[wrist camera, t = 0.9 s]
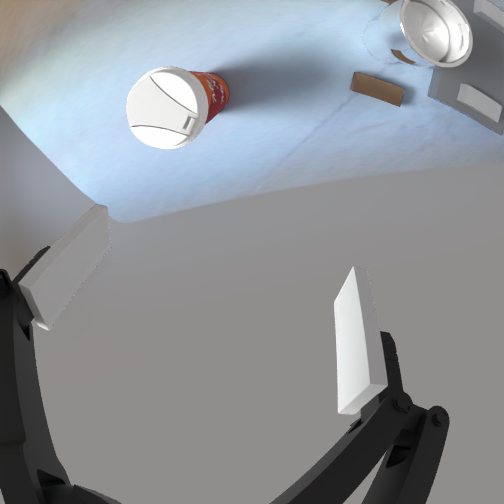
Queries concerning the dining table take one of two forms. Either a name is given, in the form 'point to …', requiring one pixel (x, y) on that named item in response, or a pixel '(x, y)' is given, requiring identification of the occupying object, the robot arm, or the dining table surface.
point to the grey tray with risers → (477, 69)
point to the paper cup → (174, 105)
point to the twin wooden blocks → (377, 86)
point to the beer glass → (420, 34)
